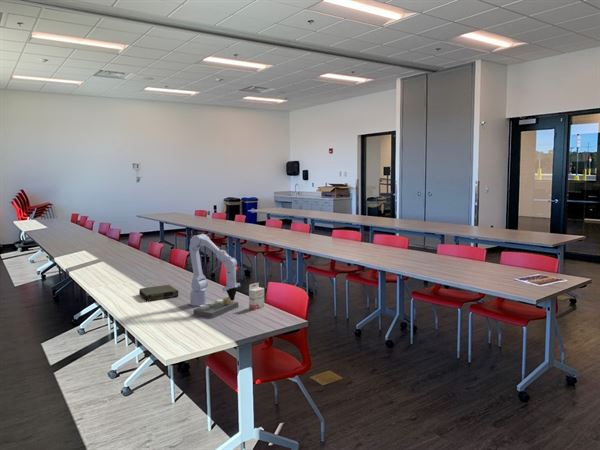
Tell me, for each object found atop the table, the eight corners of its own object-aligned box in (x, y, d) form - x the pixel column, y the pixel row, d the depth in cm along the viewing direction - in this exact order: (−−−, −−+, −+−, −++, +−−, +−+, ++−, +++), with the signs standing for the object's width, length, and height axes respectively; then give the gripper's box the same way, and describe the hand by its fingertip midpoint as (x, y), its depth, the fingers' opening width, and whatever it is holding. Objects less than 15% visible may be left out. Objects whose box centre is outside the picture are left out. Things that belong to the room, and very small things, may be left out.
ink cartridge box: (254, 310, 266) (254, 285, 265) (249, 308, 270) (248, 284, 268) (265, 306, 273) (264, 283, 271) (259, 305, 276) (258, 282, 275)
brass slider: (223, 304, 268) (223, 298, 267) (226, 302, 270) (226, 297, 270) (227, 304, 266) (227, 299, 266) (230, 303, 269) (230, 297, 268)
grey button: (199, 310, 261) (199, 306, 261) (204, 308, 264) (204, 304, 264) (204, 311, 259) (204, 307, 259) (209, 309, 262) (209, 305, 262)
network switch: (148, 303, 287) (147, 295, 286) (135, 296, 305) (134, 289, 304) (182, 296, 301) (181, 289, 301) (168, 290, 319) (167, 283, 319)
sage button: (207, 307, 267) (207, 303, 267) (212, 305, 270) (212, 301, 270) (212, 308, 265) (212, 304, 265) (217, 306, 268) (217, 302, 268)
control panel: (193, 314, 259) (193, 309, 259) (220, 304, 280) (220, 299, 280) (212, 318, 253) (212, 312, 252) (238, 307, 273) (238, 302, 273)
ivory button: (215, 304, 273) (215, 300, 273) (219, 302, 276) (219, 299, 276) (220, 305, 271) (220, 301, 271) (224, 303, 274) (224, 299, 274)
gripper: (228, 281, 263) (229, 304, 264) (243, 276, 275) (244, 298, 277) (219, 280, 266) (220, 302, 268) (234, 275, 279) (235, 296, 280)
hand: (231, 300), depth 272 cm, fingers closed
